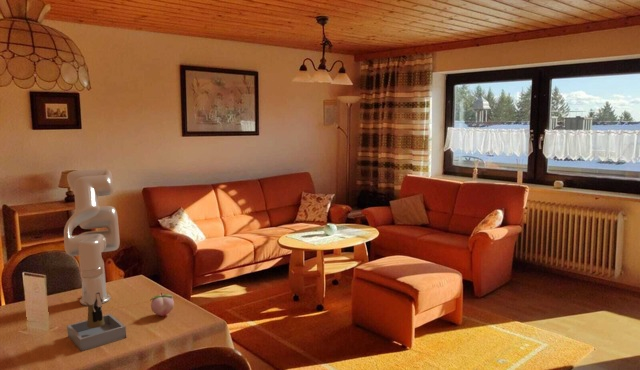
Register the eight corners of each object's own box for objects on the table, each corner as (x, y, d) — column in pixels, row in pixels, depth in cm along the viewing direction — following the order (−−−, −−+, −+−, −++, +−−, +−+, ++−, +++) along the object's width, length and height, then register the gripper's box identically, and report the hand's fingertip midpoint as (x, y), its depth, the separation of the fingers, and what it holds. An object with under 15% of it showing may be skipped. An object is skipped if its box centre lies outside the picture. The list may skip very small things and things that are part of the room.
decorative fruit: (172, 310, 215) (171, 287, 213) (176, 317, 207) (175, 293, 206) (149, 314, 210) (148, 291, 209) (152, 321, 203) (151, 297, 202)
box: (68, 336, 190) (66, 325, 190) (111, 324, 201) (110, 313, 200) (81, 351, 178) (80, 339, 178) (126, 337, 189) (125, 326, 188)
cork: (98, 328, 185) (95, 300, 184) (83, 327, 186) (81, 299, 185) (108, 321, 191) (105, 294, 190) (93, 320, 192) (91, 293, 191)
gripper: (74, 269, 190) (78, 315, 192) (88, 279, 177) (92, 329, 180) (94, 265, 195) (98, 310, 197) (110, 275, 182) (113, 323, 185)
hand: (95, 318), depth 188 cm, fingers closed on cork, 4 cm apart
